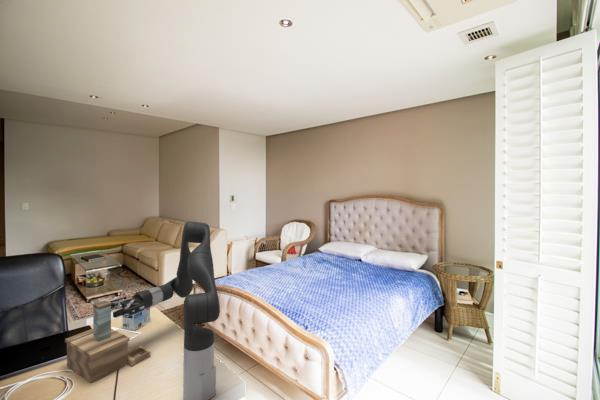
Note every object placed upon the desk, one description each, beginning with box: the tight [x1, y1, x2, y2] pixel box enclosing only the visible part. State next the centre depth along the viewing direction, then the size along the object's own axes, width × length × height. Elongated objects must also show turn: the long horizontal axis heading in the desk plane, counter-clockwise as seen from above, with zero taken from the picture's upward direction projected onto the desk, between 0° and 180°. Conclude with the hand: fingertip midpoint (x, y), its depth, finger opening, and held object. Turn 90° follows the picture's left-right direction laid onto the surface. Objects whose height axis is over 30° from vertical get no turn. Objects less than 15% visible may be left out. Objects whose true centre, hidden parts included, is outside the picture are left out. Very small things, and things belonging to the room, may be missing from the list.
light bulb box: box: [121, 307, 151, 332], centre depth 134 cm, size 11×7×11 cm, turn 168°
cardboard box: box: [64, 328, 152, 384], centre depth 106 cm, size 21×20×10 cm
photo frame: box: [111, 326, 143, 343], centre depth 121 cm, size 15×1×18 cm
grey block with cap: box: [92, 300, 112, 342], centre depth 103 cm, size 4×4×13 cm
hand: (107, 312), depth 105 cm, fingers open, 8 cm apart
